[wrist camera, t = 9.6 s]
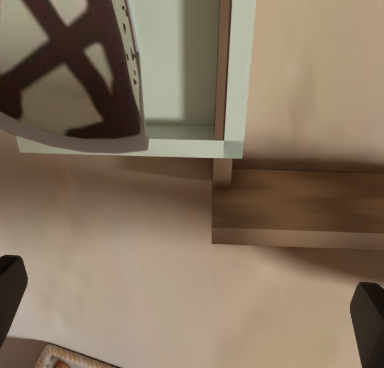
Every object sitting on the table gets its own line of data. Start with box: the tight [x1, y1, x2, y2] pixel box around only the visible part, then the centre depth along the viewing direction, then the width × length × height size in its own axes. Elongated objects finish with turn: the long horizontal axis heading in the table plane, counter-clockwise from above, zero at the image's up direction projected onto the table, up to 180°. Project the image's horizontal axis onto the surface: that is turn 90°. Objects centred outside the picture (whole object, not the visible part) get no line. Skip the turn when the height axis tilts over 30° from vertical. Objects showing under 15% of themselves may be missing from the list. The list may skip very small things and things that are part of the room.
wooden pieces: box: [212, 0, 384, 250], centre depth 16 cm, size 14×13×6 cm
